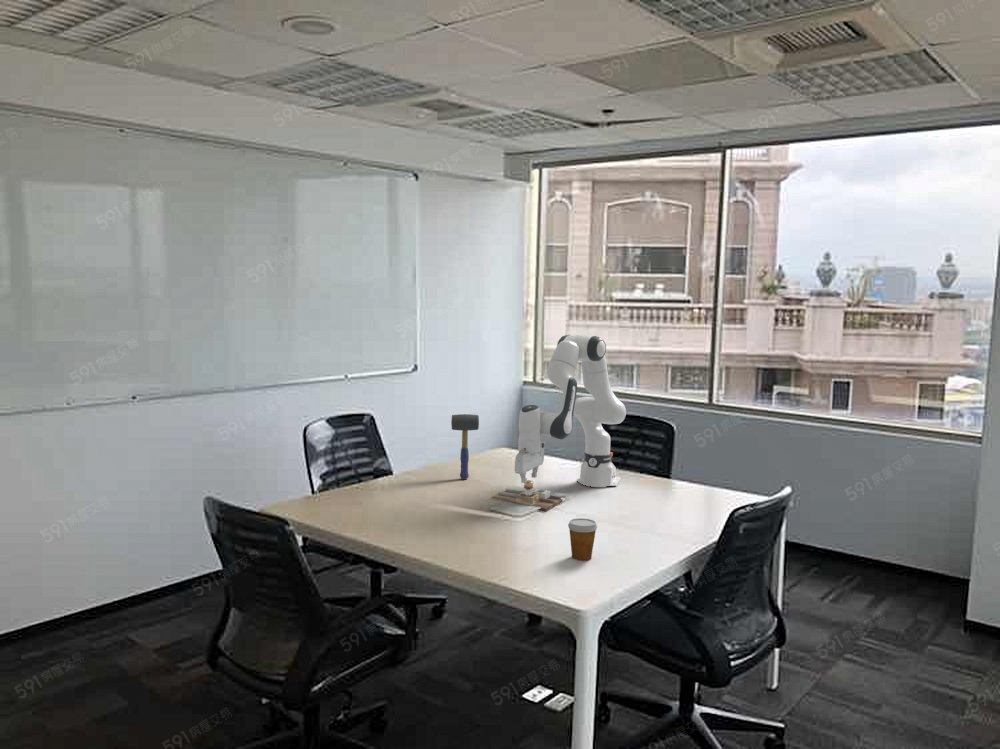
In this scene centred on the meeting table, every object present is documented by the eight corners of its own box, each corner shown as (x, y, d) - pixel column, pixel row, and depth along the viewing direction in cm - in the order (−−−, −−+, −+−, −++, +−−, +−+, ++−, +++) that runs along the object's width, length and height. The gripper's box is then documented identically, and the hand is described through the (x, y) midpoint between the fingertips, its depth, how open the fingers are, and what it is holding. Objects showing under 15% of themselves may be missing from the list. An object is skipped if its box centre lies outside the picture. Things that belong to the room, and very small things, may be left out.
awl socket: (523, 499, 327) (523, 491, 327) (539, 501, 324) (539, 494, 324) (516, 502, 321) (516, 495, 321) (531, 505, 318) (532, 498, 318)
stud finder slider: (532, 494, 333) (532, 487, 333) (550, 496, 329) (550, 489, 329) (527, 496, 329) (527, 489, 328) (545, 499, 325) (545, 492, 325)
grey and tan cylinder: (525, 500, 325) (526, 479, 324) (533, 501, 323) (534, 481, 322) (521, 502, 322) (522, 481, 321) (530, 503, 320) (530, 483, 319)
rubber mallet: (477, 477, 369) (478, 412, 366) (478, 481, 362) (479, 415, 359) (450, 477, 368) (451, 412, 365) (450, 481, 361) (451, 415, 357)
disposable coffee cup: (593, 553, 267) (595, 517, 266) (598, 562, 258) (599, 526, 256) (565, 552, 267) (566, 517, 265) (568, 562, 257) (569, 526, 256)
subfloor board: (505, 493, 341) (506, 488, 340) (562, 502, 329) (562, 496, 328) (488, 502, 327) (488, 496, 326) (546, 511, 315) (546, 505, 314)
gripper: (525, 452, 310) (525, 486, 311) (547, 442, 328) (546, 475, 329) (510, 450, 313) (510, 484, 314) (533, 440, 331) (532, 473, 332)
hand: (529, 479), depth 322 cm, fingers open, 8 cm apart
